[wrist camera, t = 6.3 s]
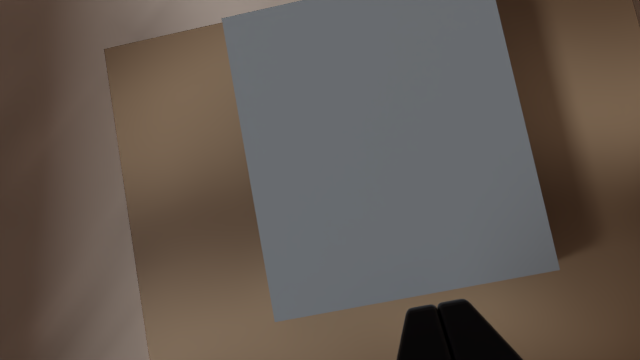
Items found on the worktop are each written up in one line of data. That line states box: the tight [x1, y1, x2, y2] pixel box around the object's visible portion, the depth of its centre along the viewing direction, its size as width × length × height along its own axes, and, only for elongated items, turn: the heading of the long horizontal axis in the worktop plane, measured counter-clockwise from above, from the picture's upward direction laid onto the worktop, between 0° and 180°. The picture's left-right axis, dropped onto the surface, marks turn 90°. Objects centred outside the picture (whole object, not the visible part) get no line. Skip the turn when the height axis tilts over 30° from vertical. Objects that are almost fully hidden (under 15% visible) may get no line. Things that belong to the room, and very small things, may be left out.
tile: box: [222, 0, 560, 322], centre depth 16 cm, size 2×7×8 cm
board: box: [104, 0, 640, 360], centre depth 17 cm, size 13×15×1 cm
